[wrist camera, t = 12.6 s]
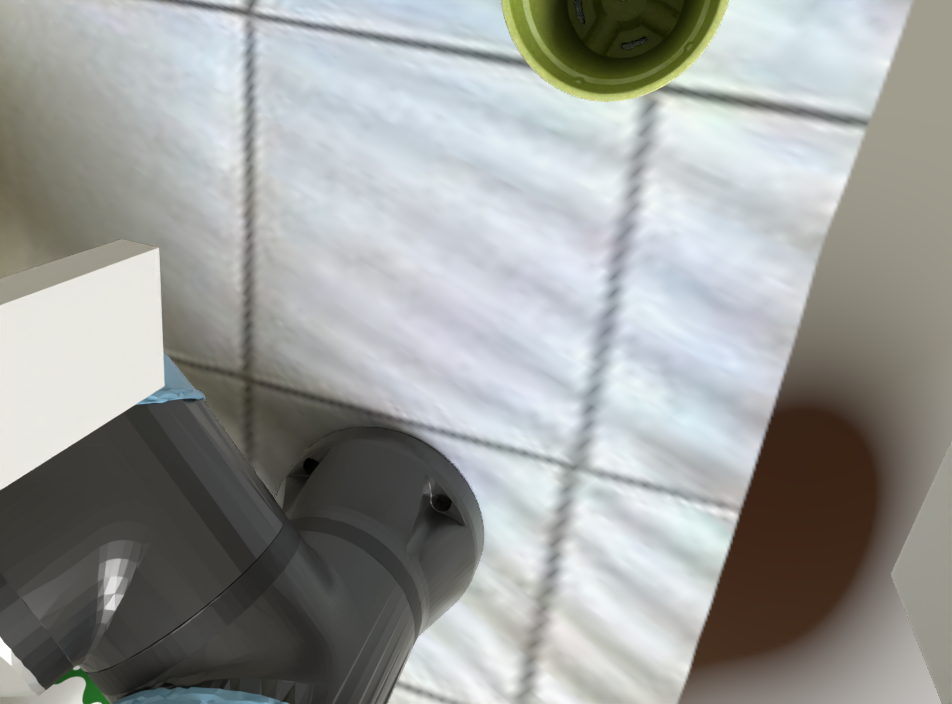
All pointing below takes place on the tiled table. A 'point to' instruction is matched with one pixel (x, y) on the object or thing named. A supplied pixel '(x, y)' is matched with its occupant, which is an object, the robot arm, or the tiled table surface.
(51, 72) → the tiled table surface
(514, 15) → the plant pot
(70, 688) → the milk carton
